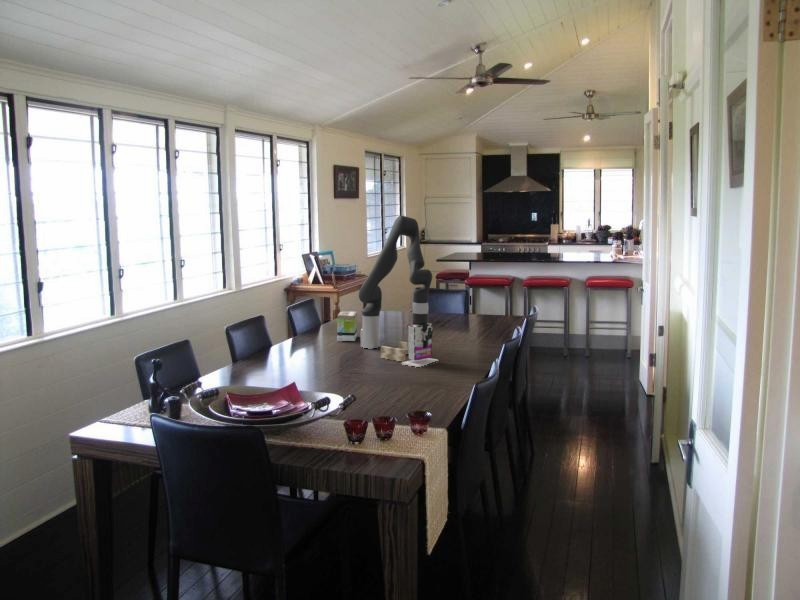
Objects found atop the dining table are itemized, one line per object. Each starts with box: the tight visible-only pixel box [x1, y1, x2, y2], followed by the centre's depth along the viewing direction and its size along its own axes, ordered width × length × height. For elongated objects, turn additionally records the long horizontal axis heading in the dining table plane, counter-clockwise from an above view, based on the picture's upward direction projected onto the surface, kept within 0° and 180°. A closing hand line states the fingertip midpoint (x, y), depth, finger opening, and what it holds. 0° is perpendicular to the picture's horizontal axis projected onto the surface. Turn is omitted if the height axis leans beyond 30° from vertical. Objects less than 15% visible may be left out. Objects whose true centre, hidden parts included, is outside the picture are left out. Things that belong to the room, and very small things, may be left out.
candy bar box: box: [407, 322, 433, 361], centre depth 322 cm, size 11×5×16 cm, turn 130°
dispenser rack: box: [380, 341, 409, 363], centre depth 335 cm, size 14×15×6 cm
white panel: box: [400, 357, 439, 368], centre depth 323 cm, size 10×16×1 cm, turn 142°
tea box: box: [336, 311, 358, 342], centre depth 379 cm, size 15×10×15 cm
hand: (420, 346), depth 322 cm, fingers closed on candy bar box, 5 cm apart
